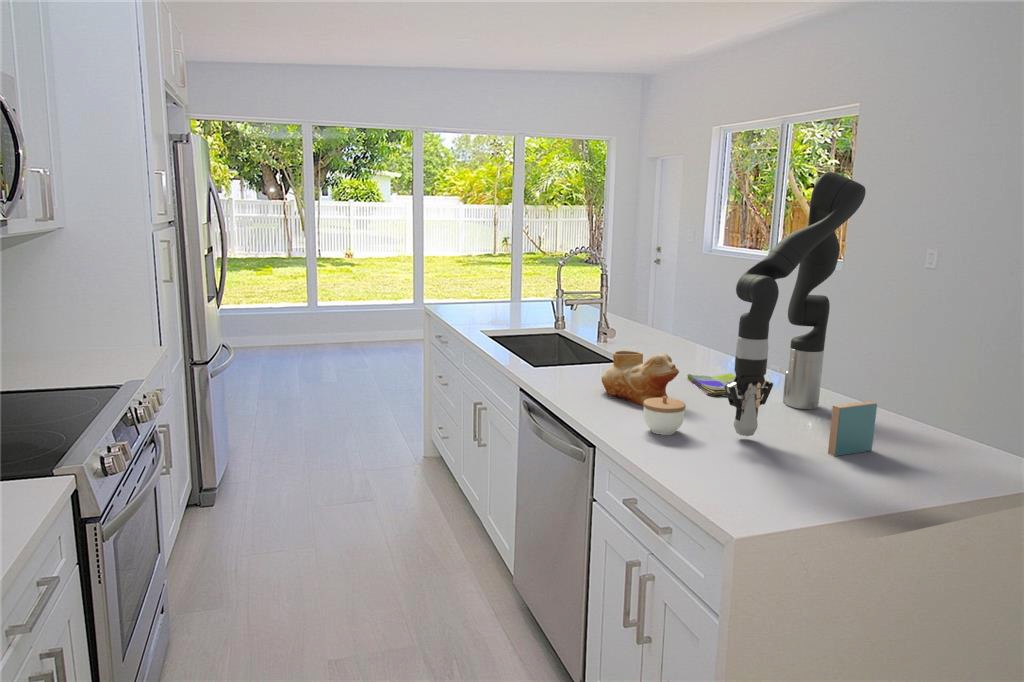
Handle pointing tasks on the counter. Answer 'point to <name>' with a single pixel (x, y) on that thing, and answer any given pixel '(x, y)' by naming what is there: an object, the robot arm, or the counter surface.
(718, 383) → the dish towel
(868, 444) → the tile
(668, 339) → the counter surface
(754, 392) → the salt shaker
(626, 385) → the ceramic vessel
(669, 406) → the lidded jar
